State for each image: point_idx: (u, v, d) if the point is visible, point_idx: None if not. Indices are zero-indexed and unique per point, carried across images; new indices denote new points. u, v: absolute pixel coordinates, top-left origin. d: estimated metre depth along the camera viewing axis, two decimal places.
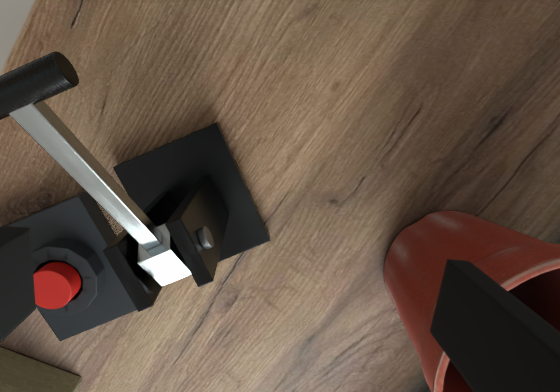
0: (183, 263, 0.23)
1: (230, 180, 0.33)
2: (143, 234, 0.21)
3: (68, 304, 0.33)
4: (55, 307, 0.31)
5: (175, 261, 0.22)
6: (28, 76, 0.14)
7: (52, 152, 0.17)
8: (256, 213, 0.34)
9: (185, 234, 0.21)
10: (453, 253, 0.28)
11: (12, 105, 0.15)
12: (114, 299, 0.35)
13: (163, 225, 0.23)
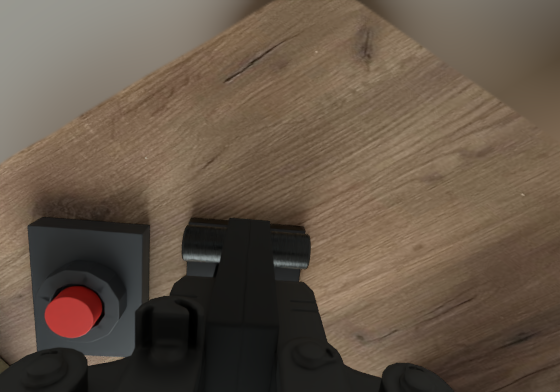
0: None
1: None
2: None
3: None
4: (64, 335, 0.28)
5: None
6: (279, 253, 0.14)
7: None
8: None
9: None
10: None
11: None
12: (117, 338, 0.32)
13: None
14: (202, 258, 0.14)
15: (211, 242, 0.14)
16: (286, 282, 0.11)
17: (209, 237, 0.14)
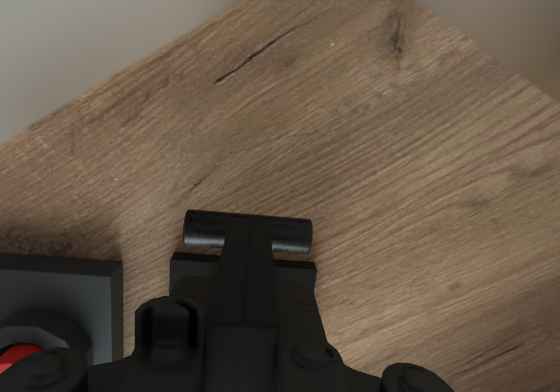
0: None
1: None
2: None
3: None
4: None
5: None
6: (281, 226, 0.14)
7: None
8: None
9: None
10: None
11: None
12: None
13: None
14: (204, 232, 0.14)
15: (214, 216, 0.14)
16: (286, 282, 0.11)
17: (212, 214, 0.14)
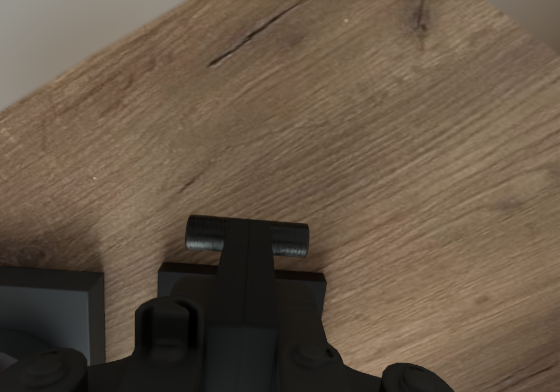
0: None
1: None
2: None
3: None
4: None
5: None
6: (279, 226, 0.15)
7: None
8: None
9: None
10: None
11: None
12: None
13: None
14: (206, 231, 0.15)
15: (215, 218, 0.15)
16: (286, 282, 0.11)
17: (213, 217, 0.15)
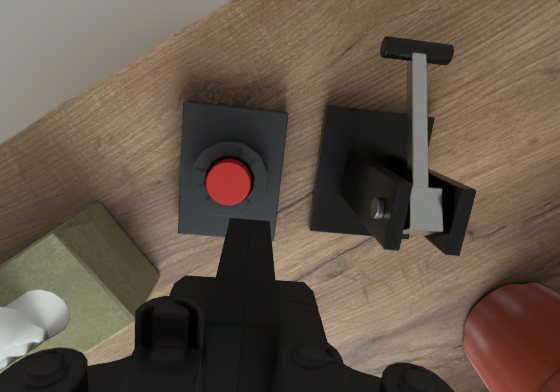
0: (442, 212, 0.23)
1: None
2: (422, 171, 0.25)
3: (224, 204, 0.32)
4: (222, 202, 0.30)
5: (438, 204, 0.23)
6: (436, 43, 0.27)
7: (415, 81, 0.26)
8: None
9: (470, 206, 0.23)
10: None
11: (417, 50, 0.26)
12: None
13: None
14: (398, 42, 0.26)
15: (400, 38, 0.27)
16: (286, 282, 0.11)
17: None
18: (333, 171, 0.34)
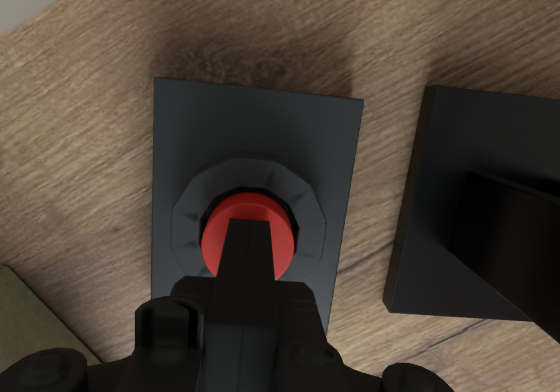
0: None
1: None
2: None
3: None
4: None
5: None
6: None
7: None
8: None
9: None
10: None
11: None
12: None
13: None
14: None
15: None
16: (286, 282, 0.11)
17: None
18: (439, 209, 0.19)
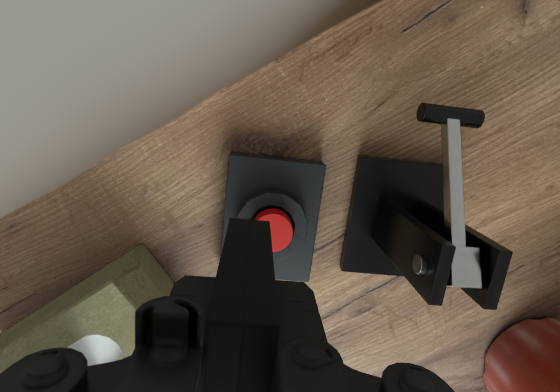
0: (480, 270, 0.26)
1: None
2: (460, 230, 0.27)
3: None
4: None
5: (477, 262, 0.26)
6: (468, 109, 0.29)
7: (451, 145, 0.28)
8: None
9: (507, 265, 0.25)
10: None
11: (452, 116, 0.29)
12: (290, 263, 0.36)
13: None
14: (434, 109, 0.29)
15: None
16: (286, 282, 0.11)
17: None
18: (365, 217, 0.37)
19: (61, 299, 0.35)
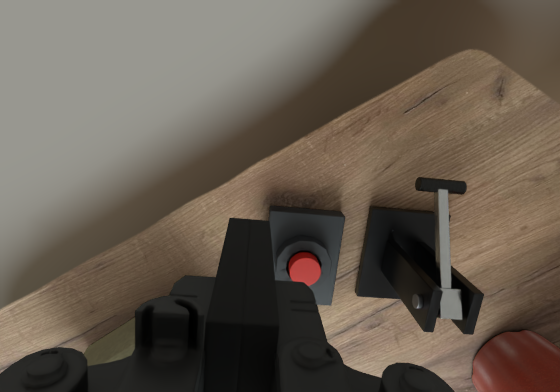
0: (461, 306, 0.35)
1: None
2: (447, 275, 0.37)
3: None
4: None
5: (459, 300, 0.35)
6: (454, 181, 0.39)
7: (441, 210, 0.38)
8: None
9: (480, 303, 0.35)
10: None
11: (441, 187, 0.39)
12: (317, 291, 0.46)
13: None
14: (428, 183, 0.38)
15: (429, 178, 0.39)
16: (286, 282, 0.11)
17: (428, 178, 0.39)
18: (376, 254, 0.46)
19: None
